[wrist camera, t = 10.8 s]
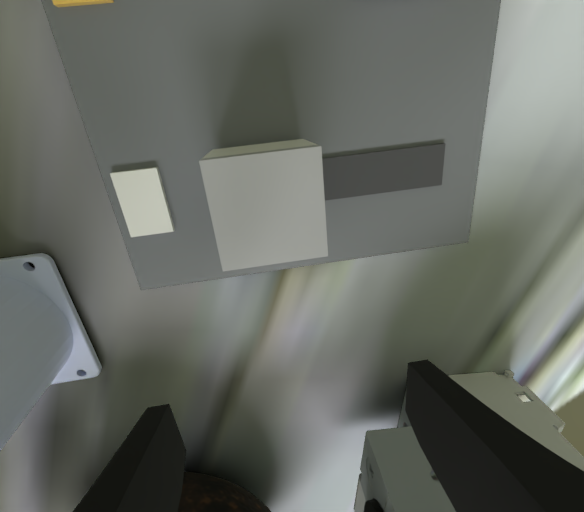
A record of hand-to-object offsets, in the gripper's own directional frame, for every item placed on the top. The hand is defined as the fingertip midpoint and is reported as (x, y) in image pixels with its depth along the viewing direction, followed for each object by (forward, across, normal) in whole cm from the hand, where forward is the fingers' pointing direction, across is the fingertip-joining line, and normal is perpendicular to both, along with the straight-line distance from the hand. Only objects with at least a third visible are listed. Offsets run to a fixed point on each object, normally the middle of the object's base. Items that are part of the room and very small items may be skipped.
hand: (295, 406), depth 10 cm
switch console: (+9, -2, -10) cm, 14 cm away
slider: (+8, 0, -5) cm, 9 cm away
